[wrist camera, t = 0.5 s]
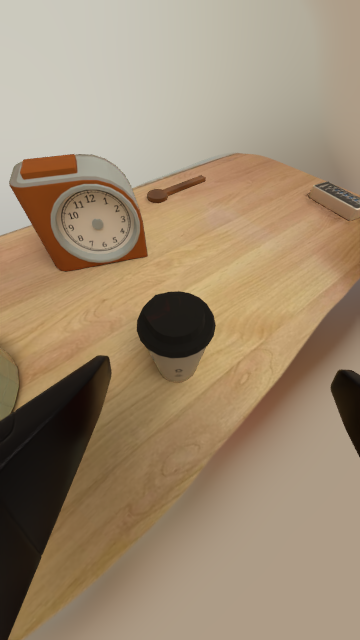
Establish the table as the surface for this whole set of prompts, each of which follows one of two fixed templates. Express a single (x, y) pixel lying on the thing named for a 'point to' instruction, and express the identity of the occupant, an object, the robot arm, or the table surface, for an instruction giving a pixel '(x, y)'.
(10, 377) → the sage green pet bowl
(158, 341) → the coffee cup
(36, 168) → the alarm clock
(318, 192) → the multiport hub
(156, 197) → the wooden spoon
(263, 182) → the table surface
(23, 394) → the table surface
